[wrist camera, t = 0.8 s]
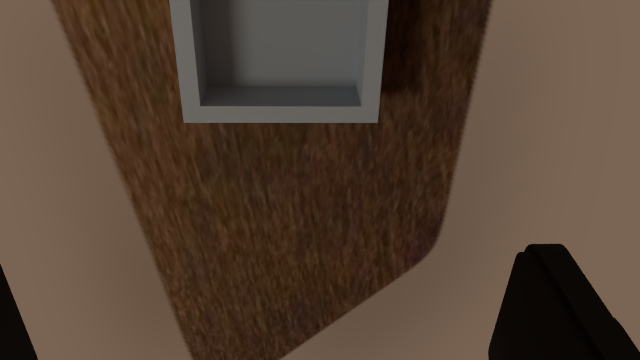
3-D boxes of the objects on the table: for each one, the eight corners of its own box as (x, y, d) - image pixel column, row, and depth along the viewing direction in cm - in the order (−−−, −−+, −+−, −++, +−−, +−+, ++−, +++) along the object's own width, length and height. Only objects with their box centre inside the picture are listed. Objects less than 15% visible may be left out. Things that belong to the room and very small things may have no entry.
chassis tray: (173, -104, 28) (157, -98, 24) (383, -98, 28) (396, -92, 25) (194, 95, 33) (183, 122, 30) (368, 95, 34) (377, 122, 31)
